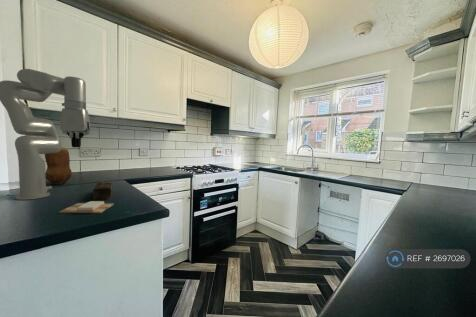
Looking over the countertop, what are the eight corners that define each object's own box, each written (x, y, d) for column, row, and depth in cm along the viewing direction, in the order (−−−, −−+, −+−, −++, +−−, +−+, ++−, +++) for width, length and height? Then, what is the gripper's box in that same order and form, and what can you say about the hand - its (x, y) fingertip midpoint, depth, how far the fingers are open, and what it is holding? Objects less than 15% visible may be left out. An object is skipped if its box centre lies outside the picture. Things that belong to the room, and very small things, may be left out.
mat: (77, 204, 95) (77, 203, 95) (114, 204, 97) (114, 203, 97) (58, 213, 83) (58, 211, 83) (100, 213, 85) (100, 211, 85)
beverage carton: (113, 191, 121) (112, 181, 121) (111, 200, 105) (111, 187, 104) (96, 193, 117) (96, 181, 117) (92, 201, 101) (92, 188, 100)
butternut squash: (47, 183, 136) (46, 146, 134) (72, 181, 144) (72, 146, 142) (43, 187, 124) (42, 146, 123) (71, 185, 133) (71, 147, 131)
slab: (90, 201, 92) (104, 201, 93) (90, 205, 93) (104, 205, 93) (77, 207, 84) (92, 207, 84) (77, 212, 84) (92, 212, 84)
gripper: (50, 103, 85) (51, 146, 87) (88, 105, 87) (89, 148, 89) (63, 106, 93) (64, 146, 94) (98, 108, 95) (98, 147, 96)
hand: (76, 147), depth 91 cm, fingers closed
